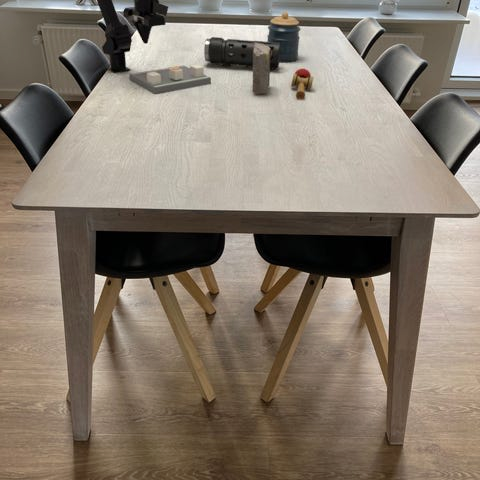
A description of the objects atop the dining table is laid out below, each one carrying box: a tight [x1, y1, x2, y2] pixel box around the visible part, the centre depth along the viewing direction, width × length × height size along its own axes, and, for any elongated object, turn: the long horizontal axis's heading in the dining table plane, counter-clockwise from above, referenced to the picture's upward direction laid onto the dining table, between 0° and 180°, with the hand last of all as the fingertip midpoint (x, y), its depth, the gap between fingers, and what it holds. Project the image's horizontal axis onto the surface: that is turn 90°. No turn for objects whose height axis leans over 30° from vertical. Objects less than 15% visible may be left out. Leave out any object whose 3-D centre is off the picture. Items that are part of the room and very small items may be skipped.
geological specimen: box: [252, 42, 272, 94], centre depth 173 cm, size 11×6×15 cm, turn 173°
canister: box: [266, 11, 301, 63], centre depth 208 cm, size 13×13×18 cm
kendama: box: [290, 68, 314, 100], centre depth 177 cm, size 8×6×18 cm
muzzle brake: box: [203, 36, 280, 71], centre depth 197 cm, size 10×28×10 cm, turn 82°
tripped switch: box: [168, 66, 183, 80], centre depth 177 cm, size 4×3×3 cm
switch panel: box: [129, 64, 212, 95], centre depth 181 cm, size 18×22×5 cm
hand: (145, 43), depth 177 cm, fingers closed
